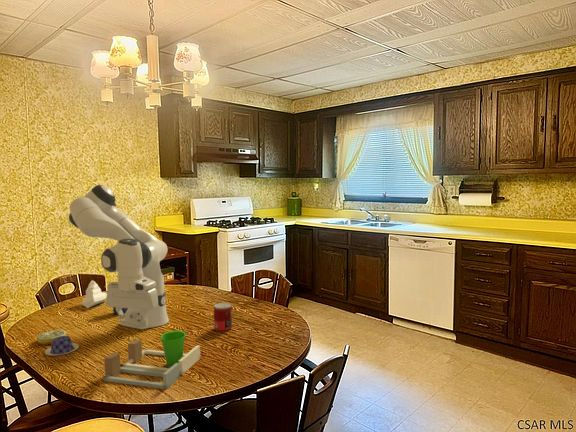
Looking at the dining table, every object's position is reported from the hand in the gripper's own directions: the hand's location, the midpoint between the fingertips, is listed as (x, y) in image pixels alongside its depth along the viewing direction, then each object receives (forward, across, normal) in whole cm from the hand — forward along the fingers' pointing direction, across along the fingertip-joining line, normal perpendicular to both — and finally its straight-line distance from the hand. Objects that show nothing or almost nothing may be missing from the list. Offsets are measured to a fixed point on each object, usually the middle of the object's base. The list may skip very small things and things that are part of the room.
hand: (132, 319), depth 148 cm
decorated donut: (+16, -46, +8) cm, 50 cm away
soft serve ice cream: (+16, -66, +55) cm, 87 cm away
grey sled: (+16, +12, -12) cm, 23 cm away
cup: (+16, +16, 0) cm, 23 cm away
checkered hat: (+16, -34, +1) cm, 38 cm away
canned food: (+16, +19, +37) cm, 45 cm away
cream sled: (+16, +12, 0) cm, 20 cm away
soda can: (+16, -42, +46) cm, 64 cm away
